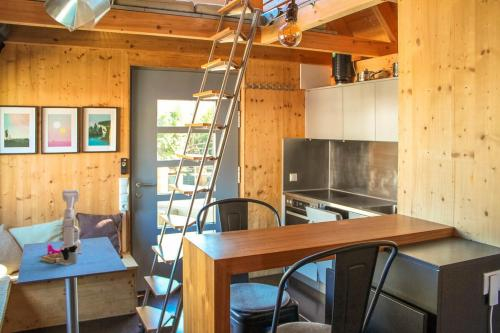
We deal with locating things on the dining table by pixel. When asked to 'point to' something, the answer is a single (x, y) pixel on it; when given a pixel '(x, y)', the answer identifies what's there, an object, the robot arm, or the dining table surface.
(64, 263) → the mat
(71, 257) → the sheet
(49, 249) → the toy block
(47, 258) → the wooden tray
